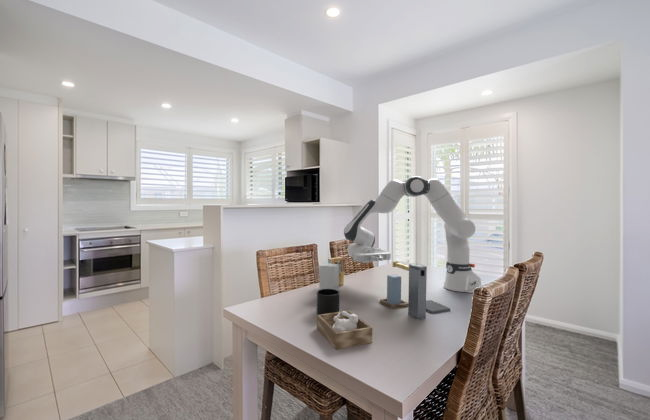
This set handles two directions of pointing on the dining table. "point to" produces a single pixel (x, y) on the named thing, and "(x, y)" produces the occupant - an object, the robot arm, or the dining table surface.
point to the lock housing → (417, 291)
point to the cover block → (393, 289)
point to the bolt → (400, 265)
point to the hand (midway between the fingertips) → (379, 259)
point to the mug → (327, 301)
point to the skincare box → (329, 276)
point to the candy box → (341, 267)
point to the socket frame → (384, 301)
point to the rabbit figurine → (345, 322)
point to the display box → (346, 337)
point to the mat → (435, 307)
